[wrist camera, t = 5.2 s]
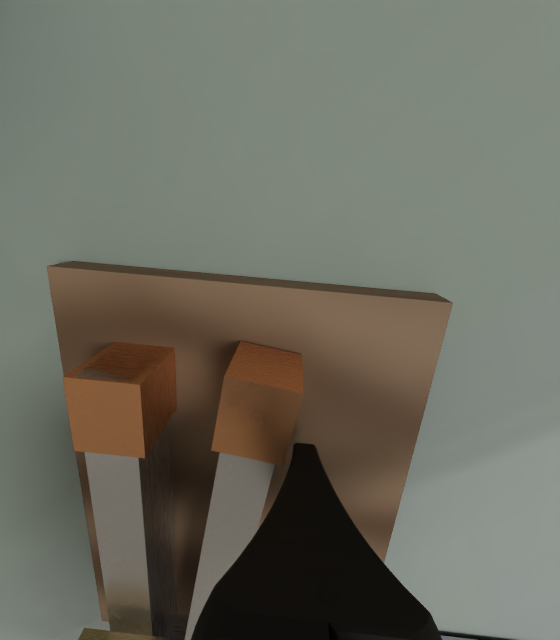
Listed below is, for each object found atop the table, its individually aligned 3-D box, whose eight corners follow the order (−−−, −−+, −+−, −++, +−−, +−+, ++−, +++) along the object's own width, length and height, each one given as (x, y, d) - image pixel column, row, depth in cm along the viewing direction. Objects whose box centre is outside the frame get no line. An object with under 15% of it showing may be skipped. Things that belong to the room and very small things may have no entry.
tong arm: (232, 621, 18) (220, 695, 16) (189, 612, 18) (169, 684, 15) (302, 354, 13) (303, 393, 10) (240, 340, 13) (224, 376, 10)
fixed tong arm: (254, 635, 19) (246, 713, 16) (141, 622, 19) (112, 695, 16) (278, 357, 13) (272, 398, 10) (115, 341, 13) (62, 377, 10)
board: (355, 621, 20) (360, 651, 19) (115, 592, 21) (102, 620, 19) (436, 293, 13) (452, 303, 12) (72, 261, 14) (46, 266, 12)
